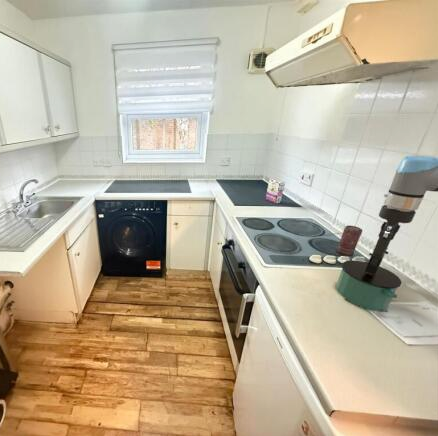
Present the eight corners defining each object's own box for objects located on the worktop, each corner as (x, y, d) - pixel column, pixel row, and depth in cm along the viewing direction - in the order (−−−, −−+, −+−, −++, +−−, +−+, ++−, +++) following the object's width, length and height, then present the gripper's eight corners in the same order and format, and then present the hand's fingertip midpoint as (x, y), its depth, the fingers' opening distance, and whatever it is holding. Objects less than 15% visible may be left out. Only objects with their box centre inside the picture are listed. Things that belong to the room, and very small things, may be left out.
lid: (375, 264, 89) (385, 242, 86) (414, 291, 75) (427, 267, 72) (331, 261, 91) (339, 240, 87) (361, 288, 77) (371, 264, 73)
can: (355, 258, 109) (365, 231, 104) (338, 256, 111) (348, 229, 106) (349, 252, 114) (359, 226, 109) (334, 250, 116) (343, 224, 111)
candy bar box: (280, 203, 180) (285, 182, 174) (275, 204, 179) (279, 182, 173) (270, 199, 190) (274, 179, 184) (264, 199, 189) (268, 179, 183)
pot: (361, 279, 95) (370, 259, 91) (407, 318, 77) (420, 295, 73) (323, 277, 96) (330, 257, 93) (358, 314, 78) (368, 291, 74)
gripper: (387, 199, 80) (362, 258, 90) (377, 209, 71) (351, 274, 80) (419, 205, 75) (389, 267, 84) (413, 217, 66) (380, 285, 75)
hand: (371, 270), depth 82 cm, fingers closed on lid, 3 cm apart
